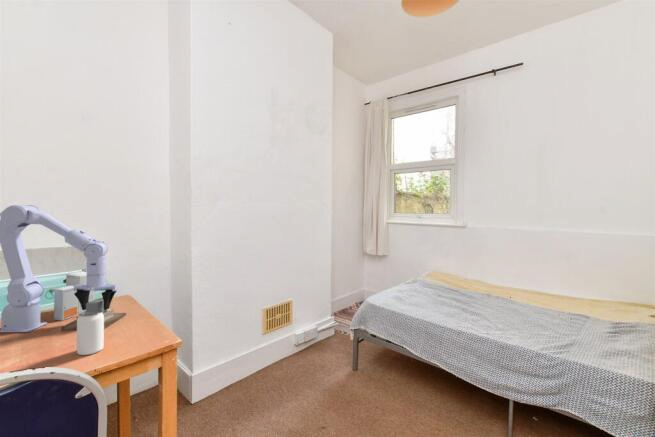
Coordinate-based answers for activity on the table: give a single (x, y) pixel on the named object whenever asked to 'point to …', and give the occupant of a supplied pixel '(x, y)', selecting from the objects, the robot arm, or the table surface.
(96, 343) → the can
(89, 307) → the grey peg
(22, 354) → the table surface
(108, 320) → the socket board
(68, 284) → the skincare box
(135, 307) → the table surface
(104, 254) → the robot arm
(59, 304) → the skincare box
